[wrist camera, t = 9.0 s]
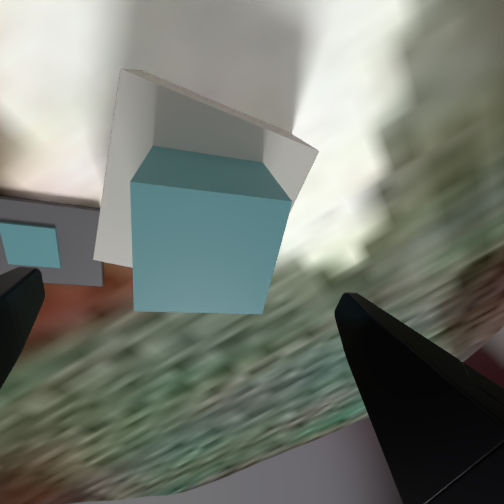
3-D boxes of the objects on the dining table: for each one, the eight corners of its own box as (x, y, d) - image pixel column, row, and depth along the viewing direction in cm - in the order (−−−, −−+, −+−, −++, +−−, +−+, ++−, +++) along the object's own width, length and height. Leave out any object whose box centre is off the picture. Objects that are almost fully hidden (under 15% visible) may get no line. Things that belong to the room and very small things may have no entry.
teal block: (151, 244, 15) (134, 311, 11) (152, 145, 12) (130, 181, 8) (245, 251, 16) (261, 314, 12) (262, 162, 14) (292, 201, 9)
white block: (115, 218, 19) (93, 259, 15) (141, 70, 15) (120, 68, 11) (241, 250, 22) (251, 291, 18) (290, 133, 18) (318, 151, 14)
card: (-27, 274, 19) (-33, 279, 19) (-54, 189, 16) (-62, 192, 16) (103, 282, 21) (101, 288, 21) (100, 208, 18) (97, 212, 18)
